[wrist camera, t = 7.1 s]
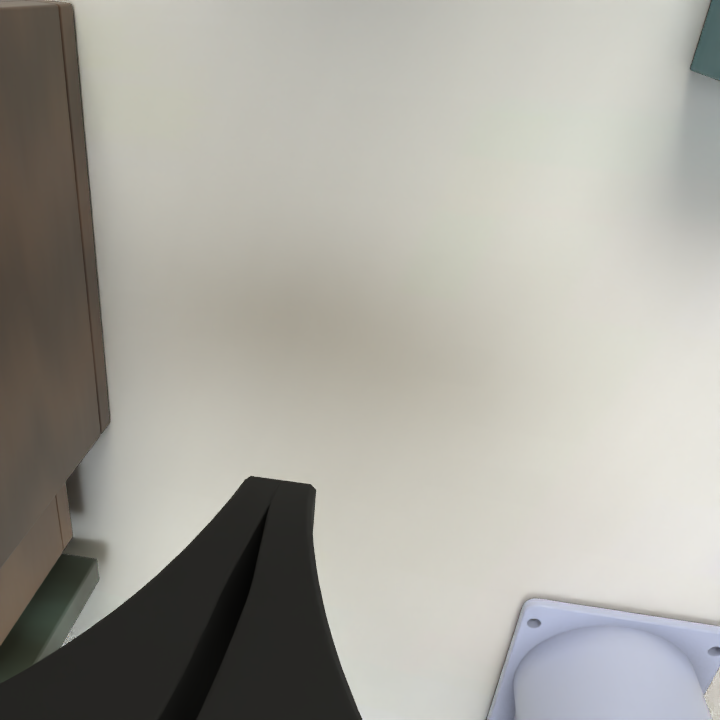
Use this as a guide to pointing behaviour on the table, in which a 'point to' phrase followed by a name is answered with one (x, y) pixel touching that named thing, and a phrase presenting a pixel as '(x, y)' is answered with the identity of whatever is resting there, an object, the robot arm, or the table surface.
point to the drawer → (42, 590)
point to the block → (709, 45)
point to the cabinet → (44, 268)
